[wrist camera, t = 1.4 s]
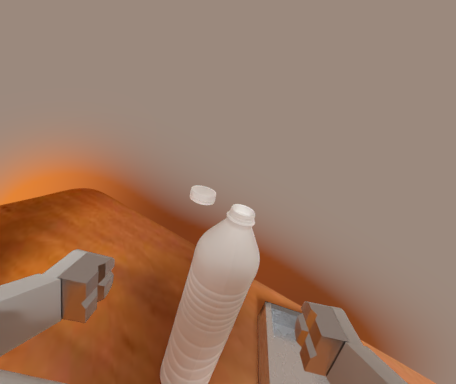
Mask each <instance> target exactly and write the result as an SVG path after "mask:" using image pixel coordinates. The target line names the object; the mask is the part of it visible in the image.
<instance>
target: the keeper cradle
mask: <svg viewBox="0 0 456 384" xmlns="http://www.w3.org/2000/svg"><path fill="white" fill-rule="evenodd" d="M300 314H302V313H299V312H296V311H293V310H290V309H287V308H284V307H281V306H278V305H275V304H272V303H269V302H266V301H265V303H264V305H263V307H262V309H261V311H260V313H259V315H258V377H259V384H330V383H329V381H328V380H327V378H326V376H322V375H318V374H314V373H310V372H306V371H304V368H303V364H302V360H301V356H300V351H301V346H300V345H299V344H298V343H297V341H296V337H295V322H296V319H297V317H298V316H299V315H300Z"/></svg>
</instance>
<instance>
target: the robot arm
mask: <svg viewBox="0 0 456 384" xmlns="http://www.w3.org/2000/svg"><path fill="white" fill-rule="evenodd" d="M113 267H114V259H113V258H111V257H107V256H103V255H99V254H96V253H92V252H87V251H83V250H79V249H77V250H73V251H72V252H71V253H69V254H68V255H67V256H66V257H64V258H63V259H62V260H60V261H59V262H58V263H56V264H55V265H54V266H52V267H51V268H50V269H49V270H47V271H46V272H45V273H43V274H42V275H41V274H35V275H32V276H29V277H26V278H23V279H20V280H17V281H13V282H10V283H7V284H4V285H1V286H0V356H2V355H4V354H5V353H7V352H9V351H10V350H12V349H14V348H15V347H17V346H19V345H20V344H22V343H24V342H25V341H27V340H29V339H31V338H32V337H34V336H36V335H37V334H39V333H41V332H42V331H44V330H46V329H47V328H49V327H51V326H52V325H54V324H56V323H58V322H59V321H61V319H65V320H70V321H76V322H81V323H86V321H87V320H88V319H89V317H90V316H91V315H92V314H93V312H94V311H95V310H96V308H97V302H99V301H101V300H103V299H104V298H105V297H106V295H107V294H108V292H109V290H110V288H111V286H112V283H113V277H114V275H113V273H112V272H111V270H112V268H113ZM301 309H302V312H303V313H302V314H300V315H299V316H298V317H297V319H296V322H295V337H296V341H297V343H298V344H299V345H300V346H301V351H300V356H301V360H302V364H303V368H304V371H306V372H310V373H314V374H318V375H322V376H326V378H327V380H328V381H329V383H330V384H408V383H407V382H405V381H404V380H403V379H402V378H401V377H400V376H399V375H398V374H397V373H396V372H394V371H393V370H392V369H391V368H390V367H389V366H388V365H387V364H386V363H385V362H383V361H382V360H381V359H380V358H379V357H378V356H377V355H376V354H375V353H374V352H372V351H371V350H370V349H369V348H368V347H366V346H363V344H362V343H361V341H360V339H359V337H358V335H357V334H356V332H355V330H354V328H353V327H352V325H351V323H350V321H349V319H348V318H347V316H346V314H345V312H344V311H343V310H342V309H341V308H336V307H331V306H325V305H321V304H316V303H312V302H307V301H306V302H304V303H303V305H302V307H301ZM0 384H66V383H62V382H57V381H52V380H48V379H43V378H38V377H33V376H29V375H24V374H19V373H14V372H10V371H5V370H0Z"/></svg>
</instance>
